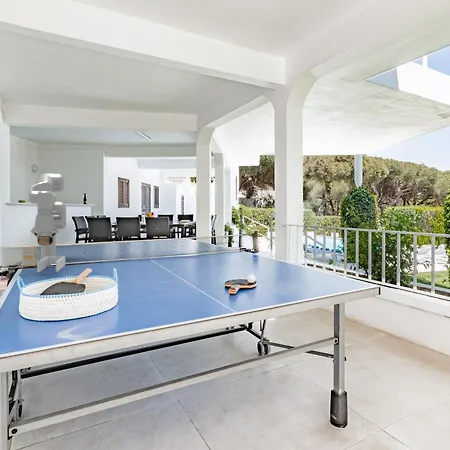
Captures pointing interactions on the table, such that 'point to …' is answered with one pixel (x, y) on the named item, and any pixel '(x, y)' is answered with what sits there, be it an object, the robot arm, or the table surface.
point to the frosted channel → (51, 260)
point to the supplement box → (30, 255)
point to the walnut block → (44, 240)
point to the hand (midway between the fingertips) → (45, 243)
